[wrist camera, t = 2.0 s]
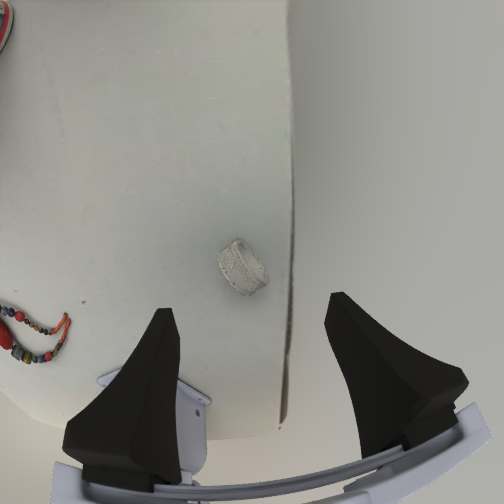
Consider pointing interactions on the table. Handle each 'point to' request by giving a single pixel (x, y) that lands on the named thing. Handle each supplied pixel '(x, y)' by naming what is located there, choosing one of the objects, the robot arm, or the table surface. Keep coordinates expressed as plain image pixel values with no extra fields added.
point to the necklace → (4, 338)
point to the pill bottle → (5, 21)
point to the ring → (242, 268)
